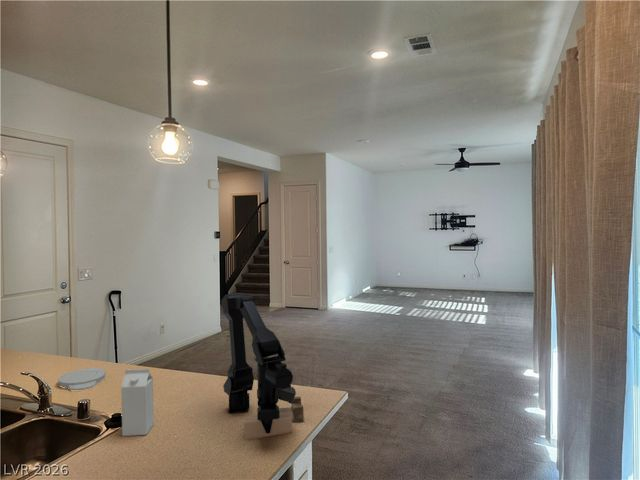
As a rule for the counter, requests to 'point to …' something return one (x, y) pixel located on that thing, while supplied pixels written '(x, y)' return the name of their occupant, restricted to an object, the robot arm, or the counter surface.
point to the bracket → (295, 410)
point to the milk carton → (137, 402)
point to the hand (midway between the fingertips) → (268, 429)
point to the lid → (82, 378)
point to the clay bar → (279, 426)
